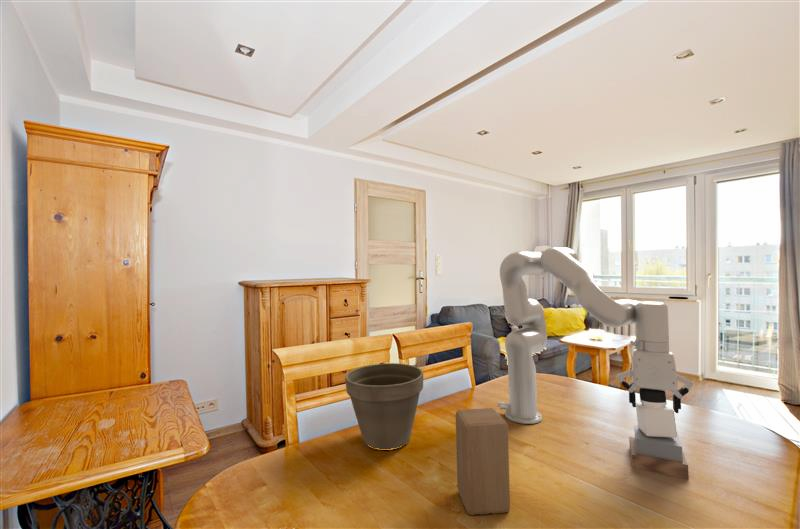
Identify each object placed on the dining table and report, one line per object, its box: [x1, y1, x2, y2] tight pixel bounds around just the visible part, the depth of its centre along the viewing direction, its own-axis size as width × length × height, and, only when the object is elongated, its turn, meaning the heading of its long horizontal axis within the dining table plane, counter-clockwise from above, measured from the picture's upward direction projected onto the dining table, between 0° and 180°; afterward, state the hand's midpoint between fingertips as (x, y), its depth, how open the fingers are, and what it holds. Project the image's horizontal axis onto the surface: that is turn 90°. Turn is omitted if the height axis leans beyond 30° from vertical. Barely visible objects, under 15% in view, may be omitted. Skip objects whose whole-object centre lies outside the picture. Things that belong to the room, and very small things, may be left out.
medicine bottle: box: [635, 388, 678, 438], centre depth 102 cm, size 7×7×12 cm
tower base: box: [628, 436, 690, 480], centre depth 101 cm, size 12×12×4 cm
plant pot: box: [344, 362, 424, 449], centre depth 118 cm, size 25×25×22 cm
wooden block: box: [455, 407, 511, 516], centre depth 86 cm, size 10×10×20 cm
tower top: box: [633, 424, 683, 463], centre depth 101 cm, size 10×10×4 cm
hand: (654, 408), depth 102 cm, fingers open, 9 cm apart
